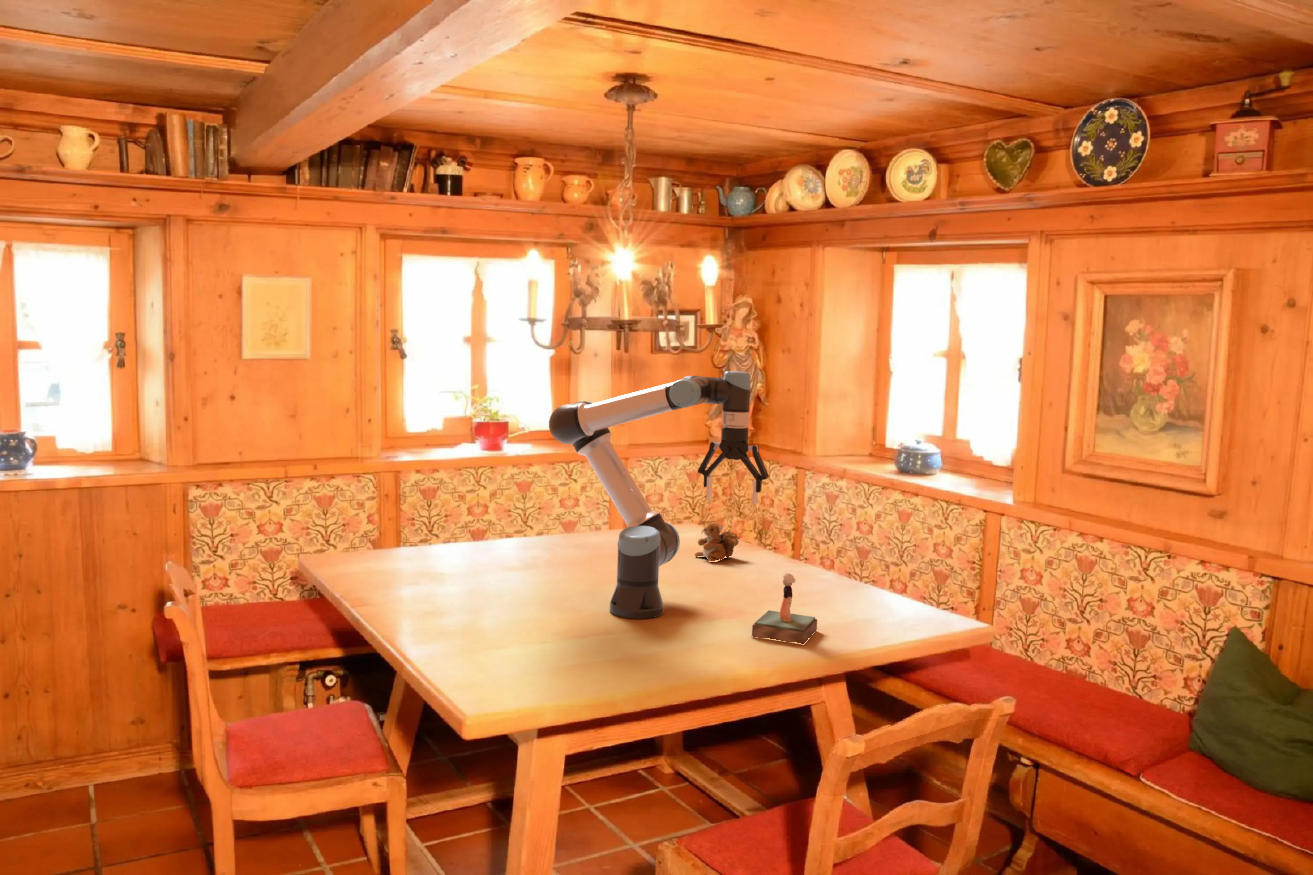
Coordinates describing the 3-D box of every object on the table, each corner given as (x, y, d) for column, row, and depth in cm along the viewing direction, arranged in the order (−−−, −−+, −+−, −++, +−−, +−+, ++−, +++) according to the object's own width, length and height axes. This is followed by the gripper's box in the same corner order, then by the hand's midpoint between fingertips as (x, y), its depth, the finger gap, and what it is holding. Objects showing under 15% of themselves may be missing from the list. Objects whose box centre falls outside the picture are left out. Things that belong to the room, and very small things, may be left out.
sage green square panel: (751, 637, 275) (752, 622, 275) (766, 623, 288) (767, 609, 288) (803, 645, 270) (804, 630, 269) (816, 631, 283) (817, 616, 282)
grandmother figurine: (775, 615, 282) (777, 569, 280) (788, 615, 282) (791, 569, 281) (782, 624, 274) (785, 576, 273) (797, 624, 275) (799, 576, 273)
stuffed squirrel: (692, 557, 365) (693, 519, 363) (728, 554, 370) (730, 518, 369) (704, 563, 356) (706, 525, 354) (741, 561, 361) (743, 523, 360)
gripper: (688, 424, 295) (685, 498, 297) (774, 431, 285) (770, 507, 288) (697, 422, 302) (694, 494, 304) (781, 428, 292) (777, 503, 295)
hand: (731, 501), depth 296 cm, fingers open, 13 cm apart
